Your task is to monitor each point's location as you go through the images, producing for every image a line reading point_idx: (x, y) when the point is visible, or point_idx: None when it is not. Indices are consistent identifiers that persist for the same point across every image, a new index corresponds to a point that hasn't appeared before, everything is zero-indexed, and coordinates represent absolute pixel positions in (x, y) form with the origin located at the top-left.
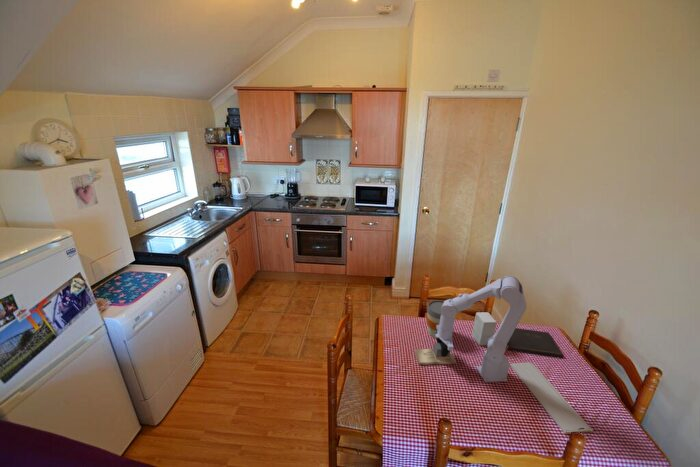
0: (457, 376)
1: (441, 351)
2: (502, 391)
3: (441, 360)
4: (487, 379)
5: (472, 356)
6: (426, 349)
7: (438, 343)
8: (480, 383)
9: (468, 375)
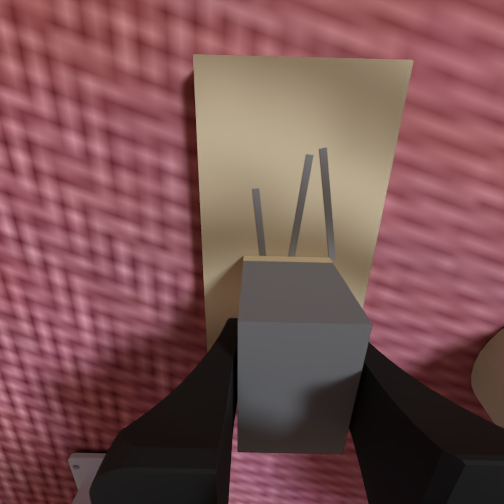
0: (94, 339)
1: (227, 348)
2: (27, 486)
3: (220, 293)
4: (81, 470)
5: (266, 466)
6: (376, 208)
7: (350, 369)
8: (59, 428)
9: (112, 398)
